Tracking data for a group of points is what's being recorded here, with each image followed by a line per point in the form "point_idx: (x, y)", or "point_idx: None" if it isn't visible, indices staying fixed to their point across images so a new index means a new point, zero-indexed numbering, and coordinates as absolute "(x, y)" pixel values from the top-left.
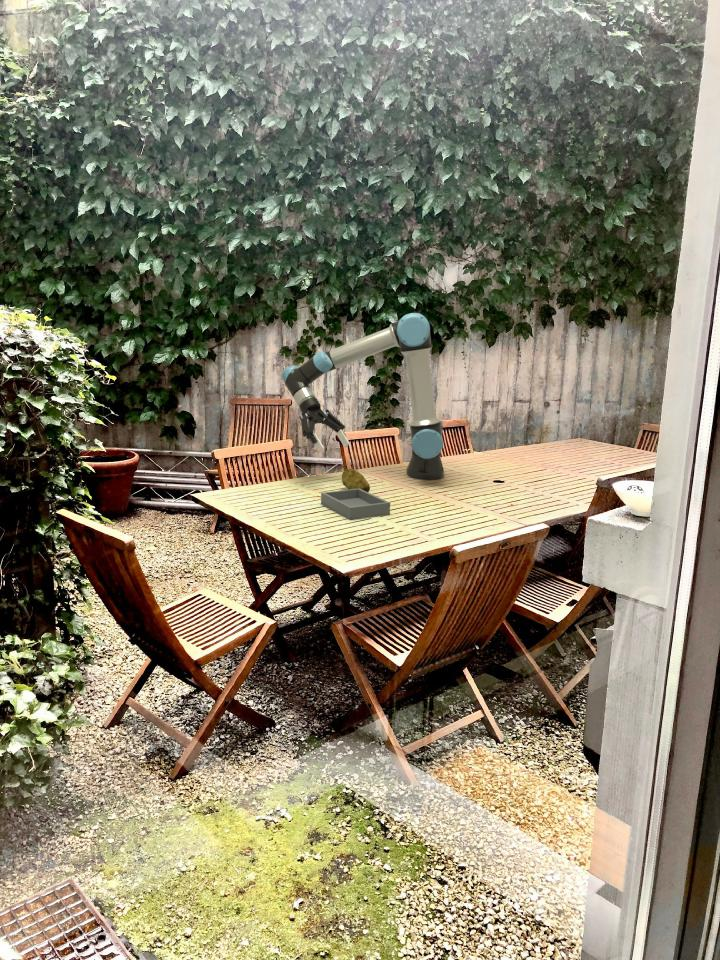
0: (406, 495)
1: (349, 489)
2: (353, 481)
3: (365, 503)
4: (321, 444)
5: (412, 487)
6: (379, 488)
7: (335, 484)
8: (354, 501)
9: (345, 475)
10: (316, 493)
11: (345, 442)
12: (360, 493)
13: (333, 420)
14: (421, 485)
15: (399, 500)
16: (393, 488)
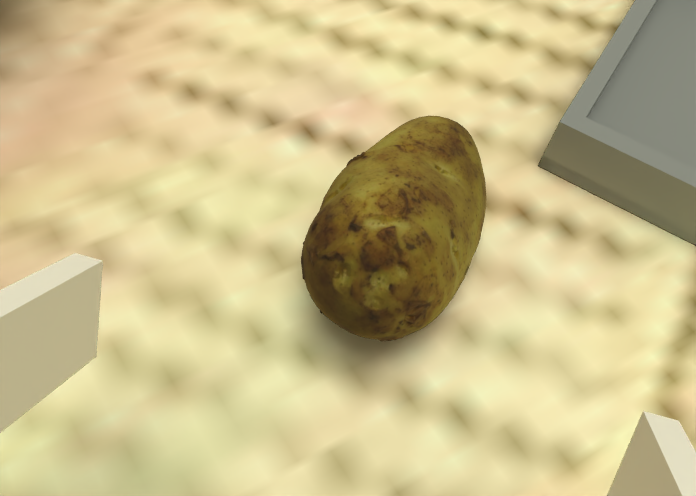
0: (291, 11)
1: (632, 157)
2: (468, 198)
3: (641, 74)
4: (678, 457)
5: (99, 41)
6: (217, 172)
7: (271, 485)
8: (655, 133)
9: (448, 264)
10: (613, 472)
11: (67, 319)
12: (590, 110)
13: None
14: (29, 21)
15: (408, 5)
16: (174, 109)
